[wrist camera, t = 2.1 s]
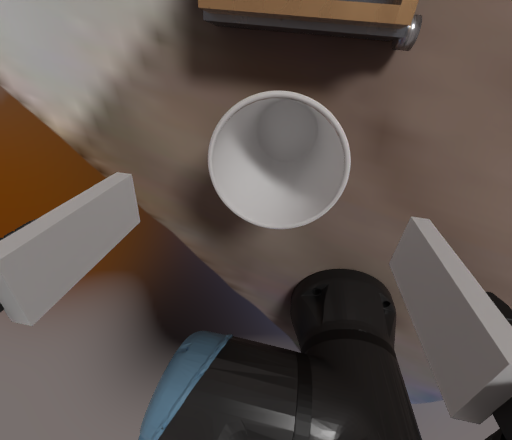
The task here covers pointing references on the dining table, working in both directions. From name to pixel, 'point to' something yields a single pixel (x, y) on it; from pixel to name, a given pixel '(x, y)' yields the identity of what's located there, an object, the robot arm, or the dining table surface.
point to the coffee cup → (279, 159)
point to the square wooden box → (322, 18)
